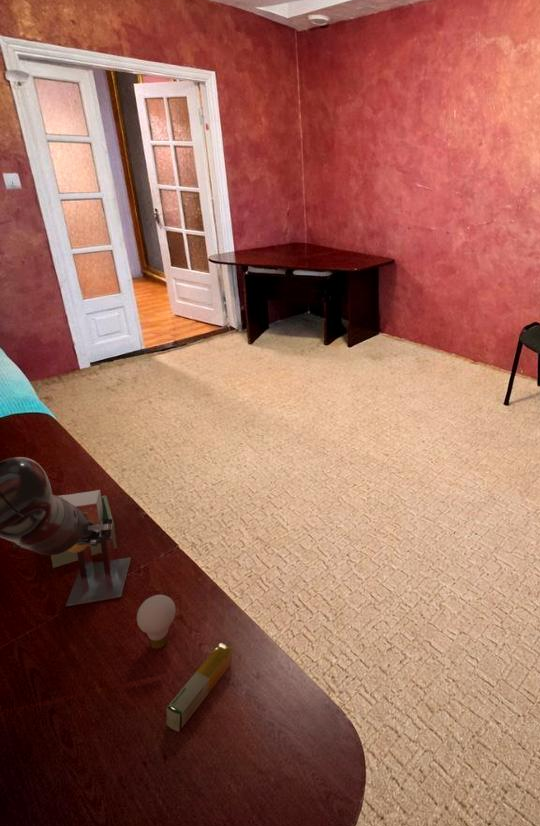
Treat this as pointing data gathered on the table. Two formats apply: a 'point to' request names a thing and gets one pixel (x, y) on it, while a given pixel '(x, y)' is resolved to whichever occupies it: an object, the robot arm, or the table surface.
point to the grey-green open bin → (71, 557)
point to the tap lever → (78, 548)
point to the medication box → (198, 687)
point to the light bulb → (156, 619)
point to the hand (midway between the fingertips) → (82, 541)
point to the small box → (87, 505)
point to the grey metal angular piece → (99, 577)
